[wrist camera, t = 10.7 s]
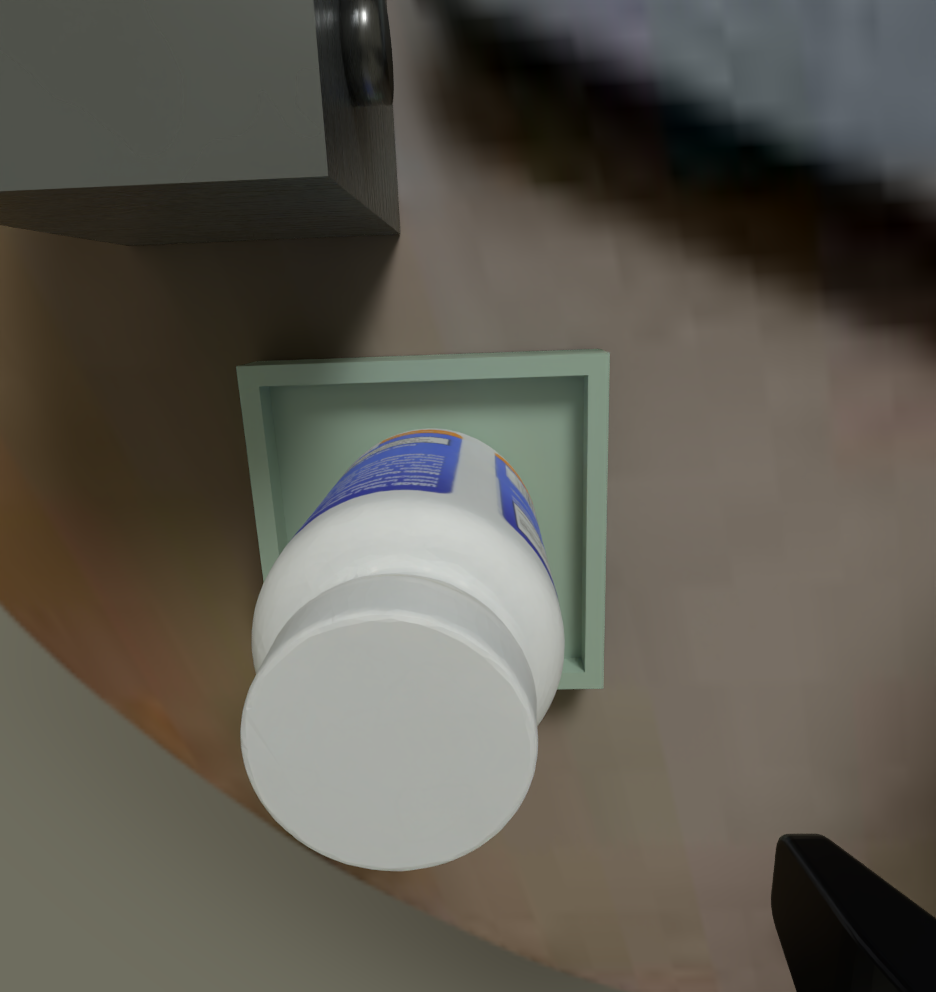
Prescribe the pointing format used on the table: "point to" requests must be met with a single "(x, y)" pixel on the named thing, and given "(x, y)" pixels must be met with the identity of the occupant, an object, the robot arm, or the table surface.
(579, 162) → the table surface
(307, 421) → the tray
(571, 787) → the table surface
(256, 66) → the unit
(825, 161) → the table surface
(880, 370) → the table surface
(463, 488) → the pill bottle
